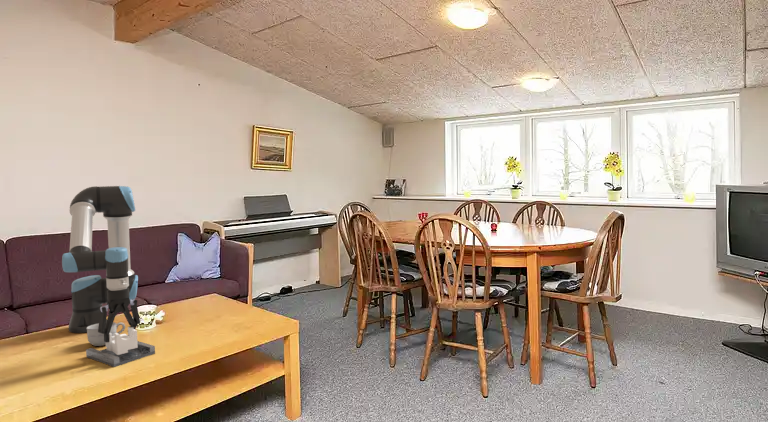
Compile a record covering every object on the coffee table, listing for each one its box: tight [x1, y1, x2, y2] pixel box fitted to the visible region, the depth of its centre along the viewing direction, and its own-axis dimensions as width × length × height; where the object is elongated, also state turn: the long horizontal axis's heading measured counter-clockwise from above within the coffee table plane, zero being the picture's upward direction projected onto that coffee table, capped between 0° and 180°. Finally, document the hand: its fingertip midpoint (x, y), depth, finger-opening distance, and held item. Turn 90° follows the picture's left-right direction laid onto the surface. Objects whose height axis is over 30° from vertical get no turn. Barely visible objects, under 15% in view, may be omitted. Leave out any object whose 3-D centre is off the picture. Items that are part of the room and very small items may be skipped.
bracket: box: [112, 328, 138, 355], centre depth 189 cm, size 13×7×8 cm, turn 47°
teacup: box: [86, 321, 126, 347], centre depth 204 cm, size 14×11×8 cm
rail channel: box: [85, 340, 156, 368], centre depth 190 cm, size 19×16×3 cm
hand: (120, 346), depth 190 cm, fingers closed on bracket, 8 cm apart
